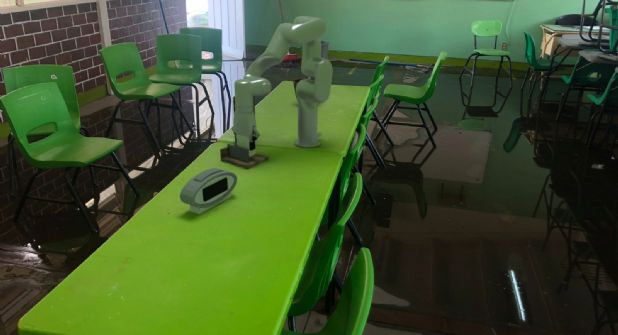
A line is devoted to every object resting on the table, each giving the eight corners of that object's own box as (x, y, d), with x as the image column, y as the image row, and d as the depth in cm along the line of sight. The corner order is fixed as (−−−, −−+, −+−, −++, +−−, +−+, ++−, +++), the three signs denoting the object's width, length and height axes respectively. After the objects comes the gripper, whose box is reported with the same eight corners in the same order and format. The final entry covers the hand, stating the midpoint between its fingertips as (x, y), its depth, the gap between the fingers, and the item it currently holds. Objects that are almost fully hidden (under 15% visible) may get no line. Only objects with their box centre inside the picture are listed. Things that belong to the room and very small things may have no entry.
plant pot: (316, 109, 293) (317, 84, 287) (292, 109, 293) (292, 83, 287) (316, 103, 307) (317, 78, 301) (293, 103, 307) (293, 78, 301)
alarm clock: (194, 218, 163) (191, 184, 158) (181, 214, 166) (178, 180, 161) (238, 194, 181) (236, 163, 176) (226, 190, 184) (224, 159, 179)
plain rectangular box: (243, 150, 215) (242, 129, 211) (255, 154, 211) (254, 132, 208) (237, 153, 212) (236, 131, 208) (249, 156, 208) (248, 134, 205)
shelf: (242, 152, 223) (241, 136, 220) (268, 159, 214) (268, 144, 212) (220, 160, 213) (219, 144, 210) (247, 169, 204) (246, 152, 201)
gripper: (223, 107, 206) (225, 146, 213) (253, 114, 196) (255, 154, 203) (235, 103, 211) (237, 141, 218) (265, 110, 202) (266, 149, 209)
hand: (246, 147), depth 211 cm, fingers closed on plain rectangular box, 6 cm apart
